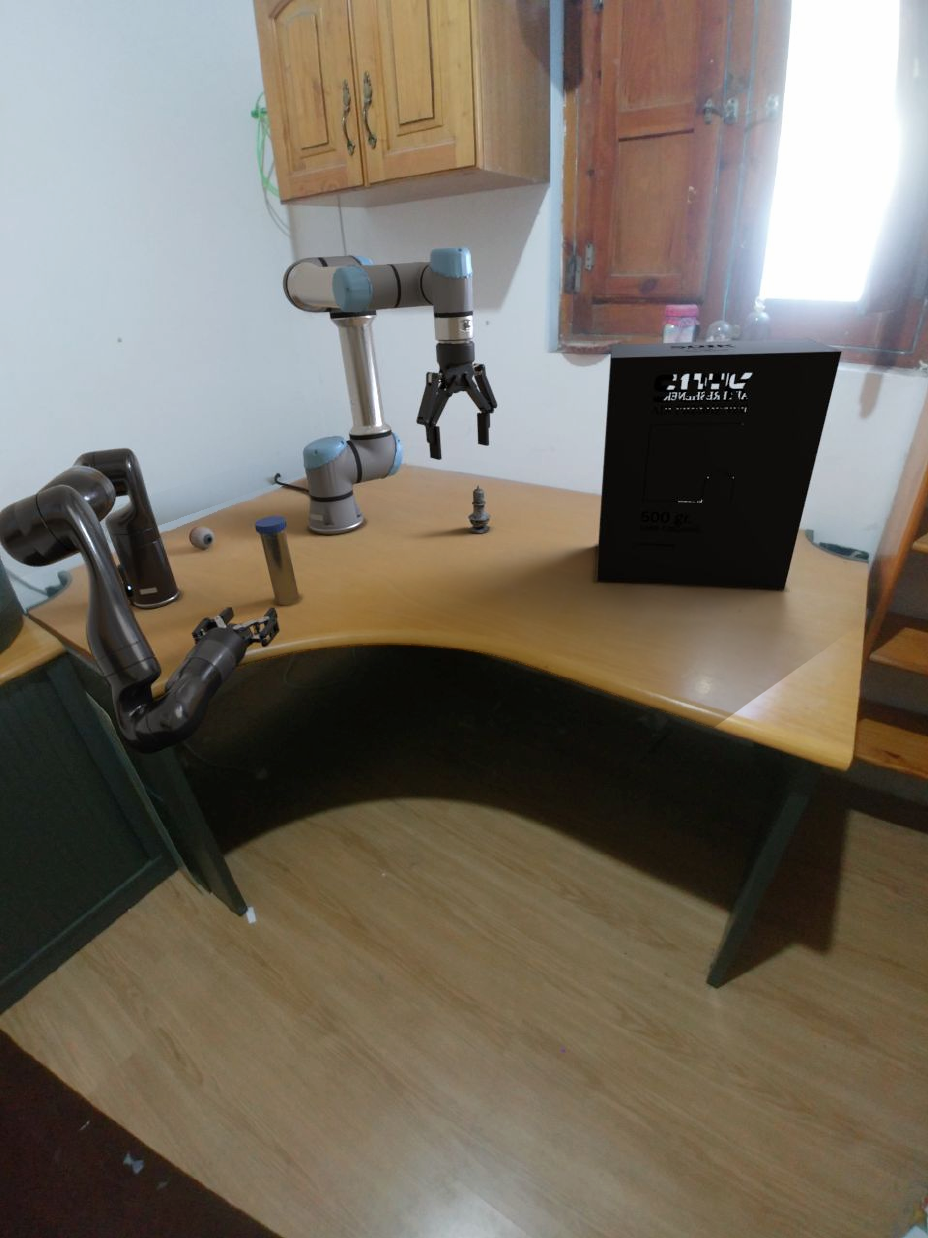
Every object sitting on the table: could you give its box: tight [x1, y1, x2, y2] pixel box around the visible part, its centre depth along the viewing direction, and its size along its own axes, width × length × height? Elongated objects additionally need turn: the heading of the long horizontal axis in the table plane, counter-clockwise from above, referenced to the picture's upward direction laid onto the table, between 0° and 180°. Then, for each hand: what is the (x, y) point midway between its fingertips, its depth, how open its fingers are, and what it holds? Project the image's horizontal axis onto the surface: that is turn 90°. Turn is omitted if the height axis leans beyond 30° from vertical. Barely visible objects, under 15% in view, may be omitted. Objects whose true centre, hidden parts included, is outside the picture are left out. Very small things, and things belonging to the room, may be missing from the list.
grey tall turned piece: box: [467, 485, 491, 534], centre depth 158 cm, size 6×6×12 cm
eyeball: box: [188, 525, 215, 550], centre depth 158 cm, size 6×6×6 cm
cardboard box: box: [596, 337, 842, 591], centre depth 125 cm, size 38×20×45 cm, turn 78°
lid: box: [254, 515, 288, 534], centre depth 123 cm, size 6×6×2 cm
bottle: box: [259, 528, 300, 606], centre depth 127 cm, size 5×5×18 cm
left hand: (252, 611), depth 115 cm, fingers open, 8 cm apart
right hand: (460, 451), depth 127 cm, fingers open, 13 cm apart
